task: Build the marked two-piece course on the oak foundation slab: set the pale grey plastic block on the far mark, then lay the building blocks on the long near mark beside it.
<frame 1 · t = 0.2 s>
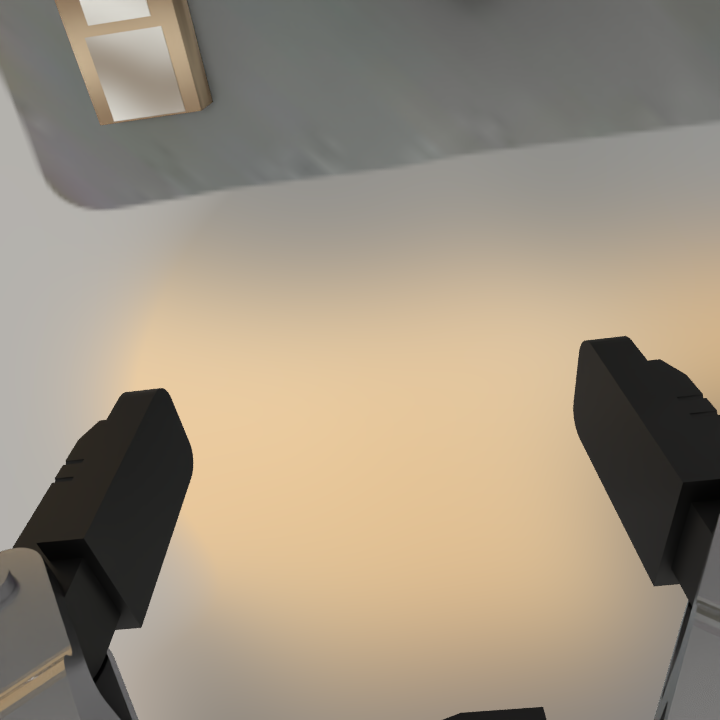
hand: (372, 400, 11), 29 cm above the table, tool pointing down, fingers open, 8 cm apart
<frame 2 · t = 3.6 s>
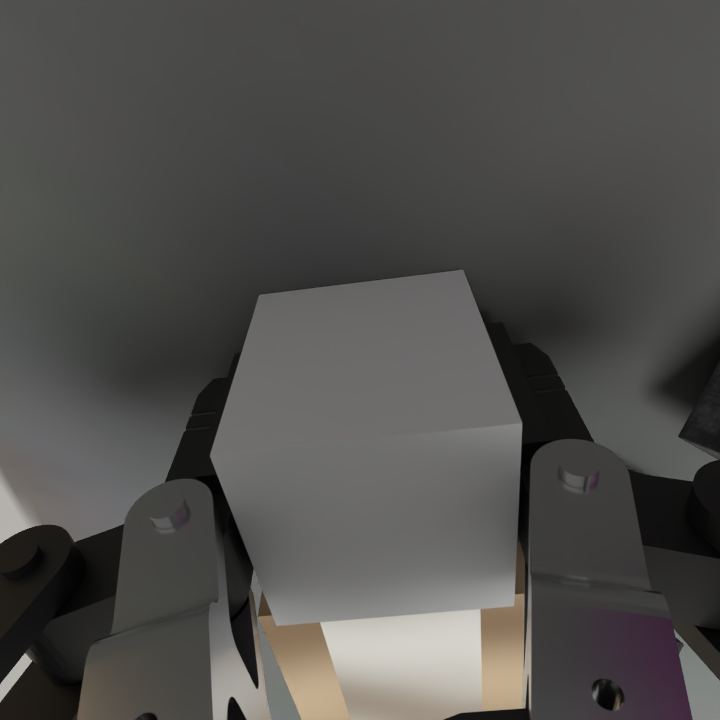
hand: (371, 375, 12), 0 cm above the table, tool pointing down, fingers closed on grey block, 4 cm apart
grey block: (372, 365, 12), on the table, touching gripper
building blocks: (685, 419, 13), on the table
foundation: (412, 641, 18), on the table
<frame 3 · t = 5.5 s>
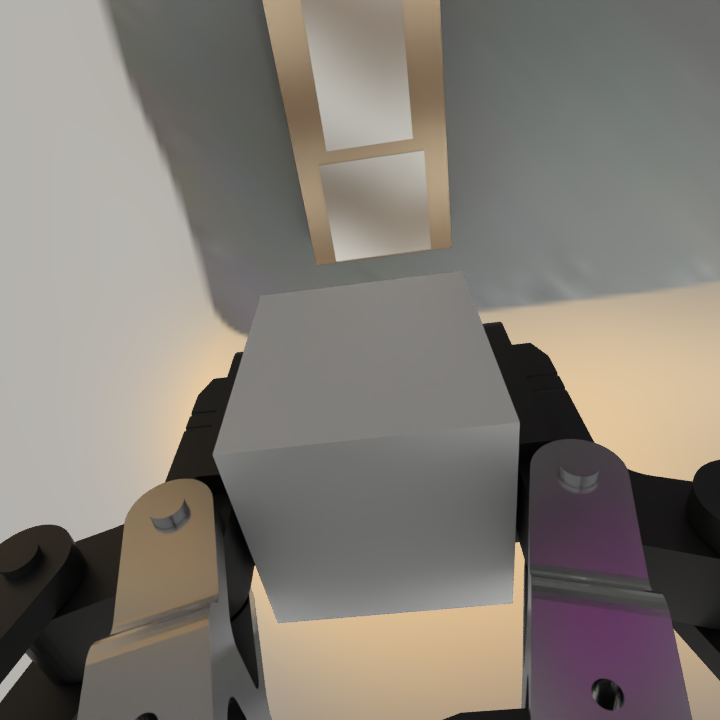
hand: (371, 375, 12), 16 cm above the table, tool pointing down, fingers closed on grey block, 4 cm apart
grey block: (372, 366, 12), point 16 cm above the table, touching gripper
foundation: (360, 70, 23), on the table
when the fingers open (5 cm above the table, at t = 7.7 s): grey block stays where it is, resting on foundation.
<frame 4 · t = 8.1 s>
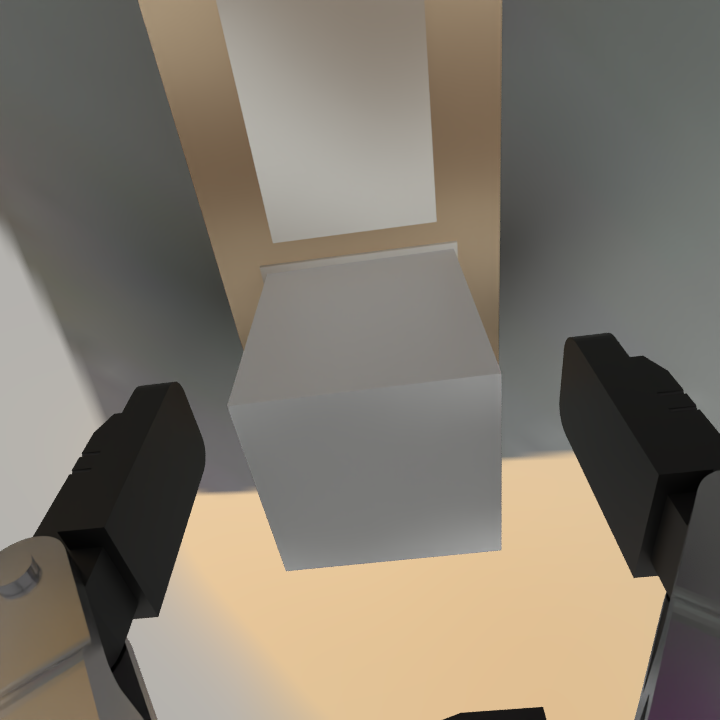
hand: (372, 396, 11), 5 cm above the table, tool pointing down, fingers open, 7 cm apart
grey block: (371, 340, 13), point 3 cm above the table, touching foundation
foundation: (340, 92, 13), on the table
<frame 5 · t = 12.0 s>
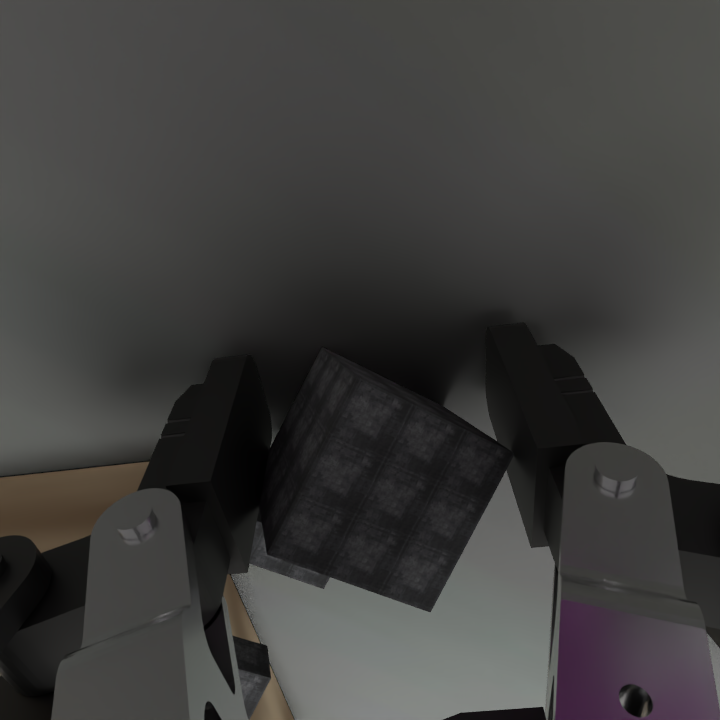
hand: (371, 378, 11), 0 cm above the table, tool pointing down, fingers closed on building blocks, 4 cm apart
building blocks: (321, 456, 14), on the table, touching gripper
foundation: (157, 627, 17), on the table
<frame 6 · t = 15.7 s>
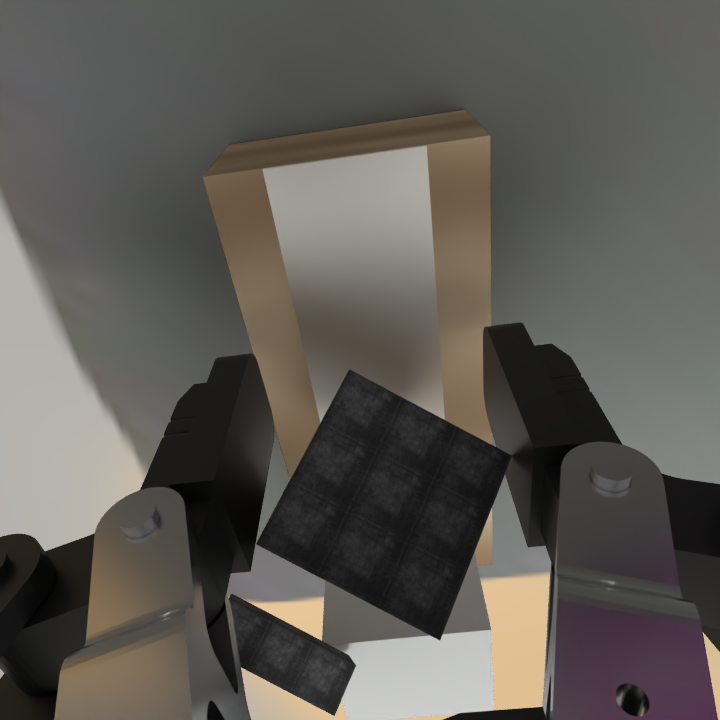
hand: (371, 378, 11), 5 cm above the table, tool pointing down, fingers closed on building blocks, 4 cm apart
grey block: (401, 535, 18), point 3 cm above the table, touching building blocks, foundation
building blocks: (332, 545, 13), point 6 cm above the table, touching grey block, gripper
foundation: (378, 357, 18), on the table
when the fingers open (5 cm above the table, at t = 16.3 s): building blocks stays where it is, resting on foundation, grey block.
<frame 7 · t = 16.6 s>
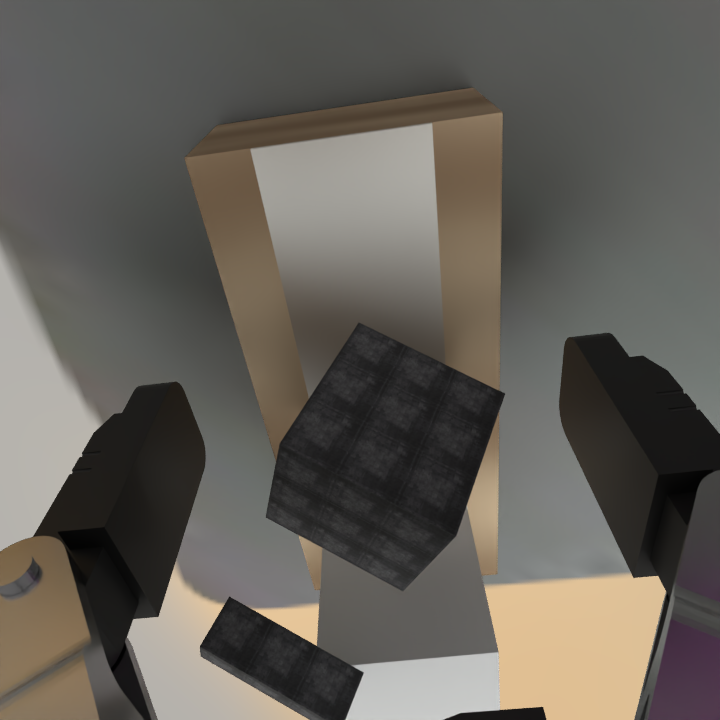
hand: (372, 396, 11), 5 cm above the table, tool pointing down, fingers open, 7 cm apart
grey block: (401, 545, 17), point 3 cm above the table, touching building blocks, foundation
building blocks: (334, 551, 13), point 6 cm above the table, touching foundation, grey block
foundation: (377, 355, 17), on the table
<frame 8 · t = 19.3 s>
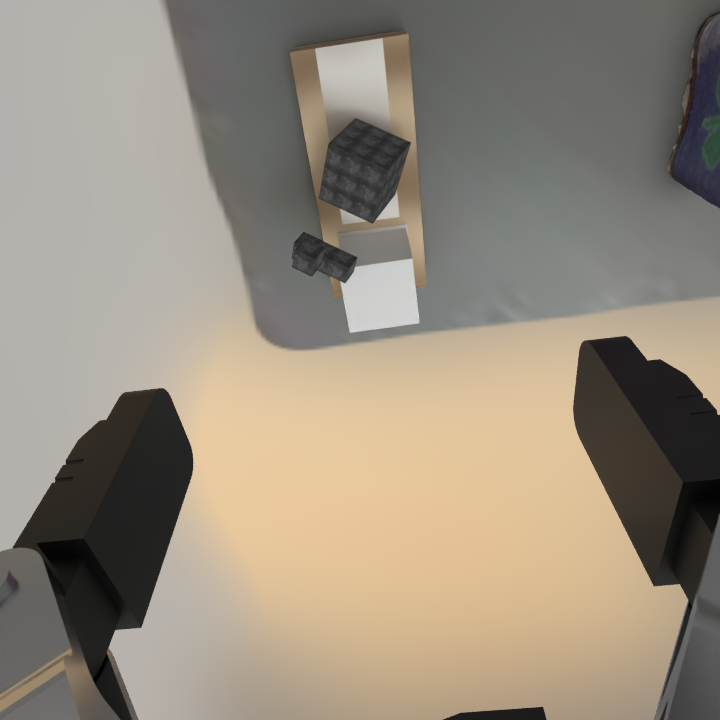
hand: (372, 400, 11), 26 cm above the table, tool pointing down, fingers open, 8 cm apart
grey block: (377, 263, 34), point 3 cm above the table, touching building blocks, foundation
building blocks: (345, 228, 30), point 6 cm above the table, touching foundation, grey block
flask: (701, 103, 32), on the table
foundation: (365, 168, 34), on the table
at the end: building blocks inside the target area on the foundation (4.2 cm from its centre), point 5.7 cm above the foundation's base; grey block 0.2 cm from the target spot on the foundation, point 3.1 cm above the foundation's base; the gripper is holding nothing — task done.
